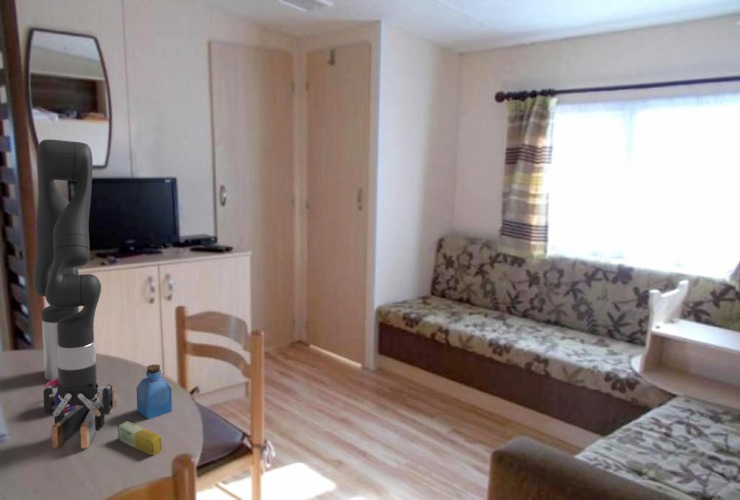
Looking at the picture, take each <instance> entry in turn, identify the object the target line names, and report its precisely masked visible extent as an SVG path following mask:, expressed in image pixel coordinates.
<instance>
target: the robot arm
mask: <svg viewBox="0 0 740 500" xmlns="http://www.w3.org/2000/svg"><path fill="white" fill-rule="evenodd" d="M36 171H37V173H36V174H37V211H36V218H35V219H36V222H35V225H36V226H35V237H36V238H35V240H36V241H35V243H36V245H35V246H36V249H35V258H34V259H35V261H34V268H33V275H32V285H33V290H34V292H35V294H36V295H37V296H40V297H45V300H46V303H48V306H46V307H44V308H43V309H42V311H41V329H42V330H41V332H42V333H41V334H42V345H43V346H42V347H43V348H42V349H43V367H44V379H46V380H47V381H52V380H54V379H56V378H57V377H58V381H59V387H54V385H49V386H48V387H47V388H46V387H45V389H44V390H43V412H44V414H46V415H49V414H50V415H52V416H53V417H54V425H55V424H56V423H58V422H59V421H60V420H61V419H63V418H64V417H65V416H66V413H65V412H63V410H64V408H65V407H66V406H67V404H68V405H70V406H76V405H77V406H85V405H86V406H87V407H88V408H89V409H90V410H92V411H93V412H94V414H95V415H96V416H95V430H96V432H98V431H99V432H100V431H101V429H102V428H103V427H104V426H105V424H106V423H105V422H106V421H105V419H106V418H105V415H108V414H107V413H109V412H110V410H111V409H112V408H113V396H112V388H113V386H112V384H107V385H106V386H99V385H98V383H97V380H98V379H97V378H98V377H97V376H98V375H97V354H96V350H97V349H96V346H95V336H94V335H95V334H94V331H95V330H94V329H95V328H94V323H95V316H96V310H97V306H98V303H99V299H100V297H101V293H102V284H101V281H100V279H99V278H98V277H97V276H96V275H95V274H92V273H91V274H90V273H84V274H79V269H78V267H81V266H84V265H87V264H88V263H89V262H90V260H91V250H90V247H91V246H90V245H91V244H90V232H89V230H90V229H89V226H90V225H89V221H90V211H91V210H90V208H91V201H92V199H91V198H92V187H93V185H92V183H93V155H92V150H91V147H90V146H89V144H87V143H84V142H81V141H72V140H62V139H43V140H41V141H40V142H39V144H38V147H37V151H36ZM55 181H66V182H67V181H68V182H76V189H75V192H74V195H73V196H72V198H71V199H70V200H68V199H67V198H66V197H65V196H64V195H63V194H62V192H61V191H60V190H59V188H58V187H57V184H56V182H55ZM79 307H82V309H81V310H80V309H79ZM79 310H80V311H79ZM57 392H58V394H59V395H60V396H61V397H62V399H63V400H62V401H61V403H60V404H59V405H58V407H56V406H55V395H56V394H57ZM97 392H99V393H100V395H101V397H103V405H102V404H101V403H100V399H99V398H98V397H97V396H96V393H97ZM91 400H92V401H93V403H92V402H91ZM105 413H106V414H105Z"/></svg>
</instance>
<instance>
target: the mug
mask: <svg viewBox="0 0 740 500" xmlns="http://www.w3.org/2000/svg"><path fill="white" fill-rule="evenodd" d="M49 385H54V387H59V381H58V377H57V378H56V379H54V380H52V381H51V380H48V382H47V383H45V389H46V388H47V387H48V386H49ZM62 400H63V399H62V397H61V396H60V395H59V394H58V392H57V394H56V395H55V406H56V407H58V405H59V404H60V403H61V401H62ZM76 407H78V405H76V406H70V405H68V404H67V406H66V407H65V408H64V410H63V412H65V414H67V413H70V412H71V411H73V410H74V409H75V408H76Z"/></svg>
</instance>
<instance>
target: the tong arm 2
mask: <svg viewBox="0 0 740 500" xmlns="http://www.w3.org/2000/svg"><path fill="white" fill-rule="evenodd" d="M98 398H99V399H100V403H101V404H102V405H103V397H101V395H98ZM95 416H96V415H95V414H94V412H93V411H92V410H90V411H89V413H88V415H87V416H86V418H85V420H84V422H83V424H82V425H81V427H80V430H79V431H80V448H81V449H88V447H89V445H90V443H91V442H92V440H93V437H94V435H95V433H96V432H97V431H96V430H95Z"/></svg>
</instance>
